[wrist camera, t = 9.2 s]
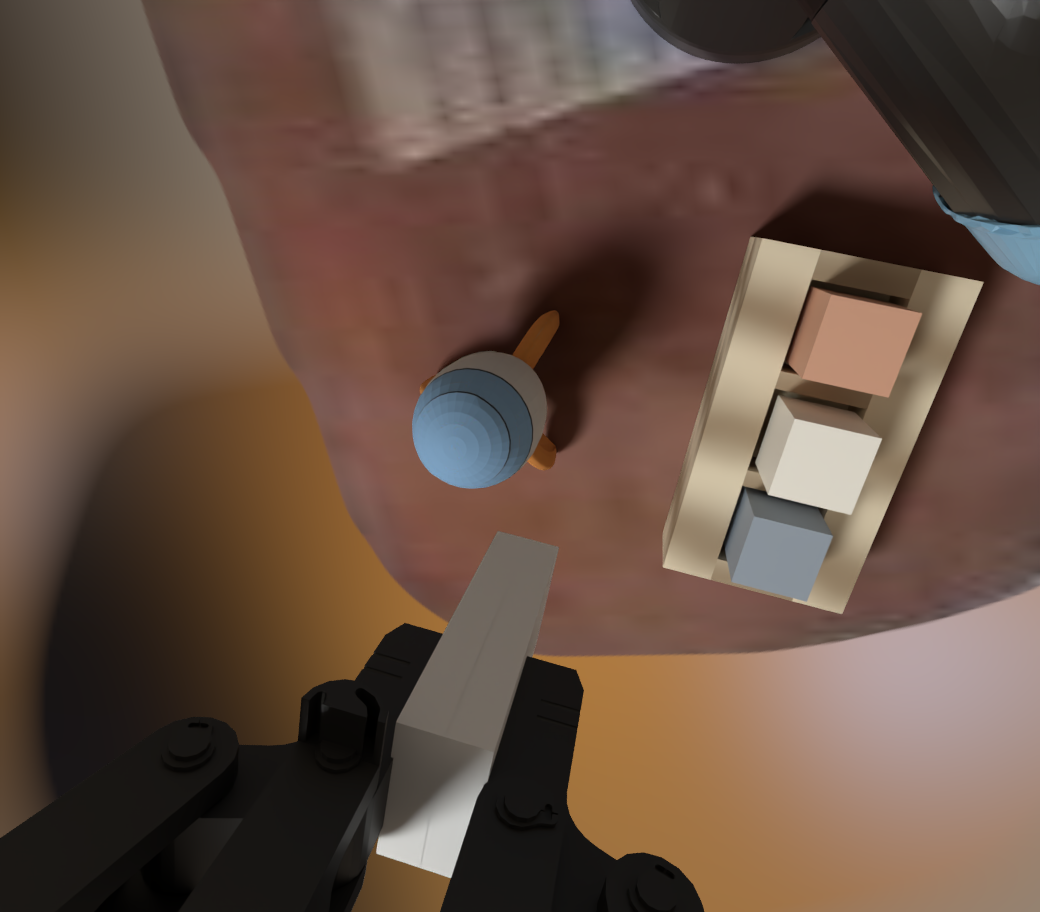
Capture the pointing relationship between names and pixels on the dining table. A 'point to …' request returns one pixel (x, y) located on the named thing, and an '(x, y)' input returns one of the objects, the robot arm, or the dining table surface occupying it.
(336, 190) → the dining table surface
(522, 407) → the toy rocket
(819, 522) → the grey block
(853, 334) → the key terracotta
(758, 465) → the key ivory
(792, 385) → the beige cube tray
